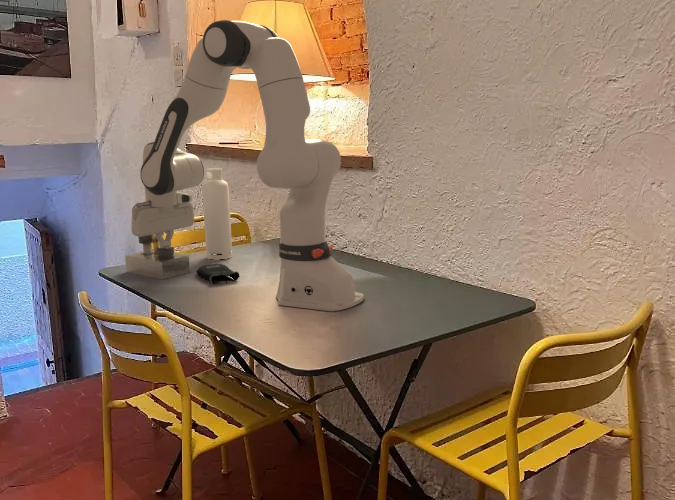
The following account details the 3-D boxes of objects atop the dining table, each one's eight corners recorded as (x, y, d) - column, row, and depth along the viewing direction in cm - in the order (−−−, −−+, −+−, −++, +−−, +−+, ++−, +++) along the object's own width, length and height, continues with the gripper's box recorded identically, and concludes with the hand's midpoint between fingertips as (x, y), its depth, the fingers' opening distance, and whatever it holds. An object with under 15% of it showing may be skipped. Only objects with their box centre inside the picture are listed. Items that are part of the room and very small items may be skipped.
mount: (190, 271, 201) (188, 255, 200) (163, 279, 193) (161, 262, 192) (153, 265, 210) (152, 249, 209) (126, 272, 202) (125, 255, 201)
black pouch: (243, 286, 192) (223, 267, 204) (240, 268, 189) (220, 250, 201) (211, 295, 188) (193, 276, 200) (208, 277, 185) (190, 259, 197)
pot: (162, 254, 201) (161, 236, 200) (156, 255, 199) (155, 237, 198) (157, 253, 202) (155, 235, 201) (151, 254, 200) (149, 236, 199)
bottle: (201, 257, 219) (195, 169, 213) (223, 253, 224) (218, 166, 218) (215, 261, 213) (210, 170, 207) (237, 257, 219) (232, 168, 212)
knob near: (178, 271, 200) (177, 246, 198) (166, 274, 196) (164, 249, 195) (168, 269, 202) (166, 244, 201) (155, 272, 199) (153, 247, 197)
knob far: (159, 256, 204) (157, 232, 202) (147, 259, 200) (145, 234, 198) (149, 254, 206) (147, 230, 205) (136, 257, 203) (134, 233, 201)
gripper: (139, 204, 185) (143, 255, 188) (196, 195, 201) (199, 241, 204) (124, 202, 188) (128, 252, 191) (181, 193, 204) (184, 239, 207)
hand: (165, 246), depth 198 cm, fingers closed
